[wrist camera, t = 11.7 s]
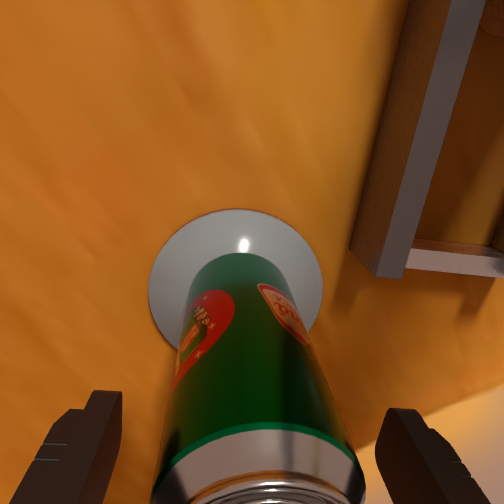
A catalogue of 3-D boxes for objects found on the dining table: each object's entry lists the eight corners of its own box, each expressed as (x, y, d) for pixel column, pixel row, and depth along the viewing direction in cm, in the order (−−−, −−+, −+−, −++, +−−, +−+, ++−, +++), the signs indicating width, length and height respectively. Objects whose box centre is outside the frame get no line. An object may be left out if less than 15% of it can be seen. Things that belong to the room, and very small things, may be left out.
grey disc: (154, 198, 17) (152, 200, 17) (335, 219, 18) (339, 222, 18) (147, 355, 20) (145, 362, 20) (303, 366, 21) (305, 373, 21)
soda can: (298, 319, 19) (403, 593, 8) (209, 348, 20) (193, 655, 8) (271, 234, 18) (358, 436, 6) (174, 266, 18) (93, 518, 7)
